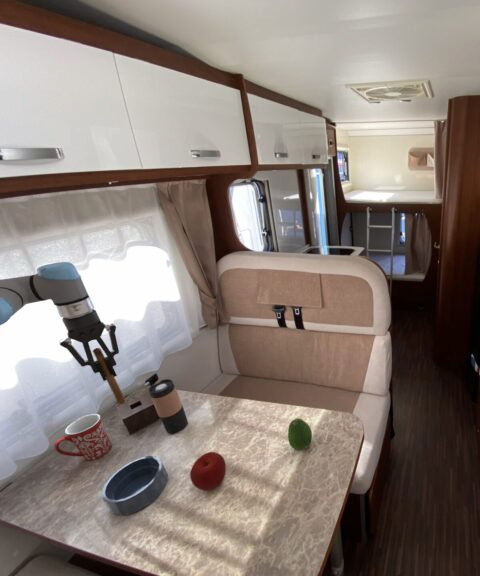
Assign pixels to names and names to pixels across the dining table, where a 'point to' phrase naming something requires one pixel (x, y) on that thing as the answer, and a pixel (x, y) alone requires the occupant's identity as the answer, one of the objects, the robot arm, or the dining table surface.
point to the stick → (109, 375)
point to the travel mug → (168, 406)
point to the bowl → (135, 485)
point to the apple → (208, 471)
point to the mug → (86, 438)
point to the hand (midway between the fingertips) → (109, 376)
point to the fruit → (299, 434)
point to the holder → (138, 413)
